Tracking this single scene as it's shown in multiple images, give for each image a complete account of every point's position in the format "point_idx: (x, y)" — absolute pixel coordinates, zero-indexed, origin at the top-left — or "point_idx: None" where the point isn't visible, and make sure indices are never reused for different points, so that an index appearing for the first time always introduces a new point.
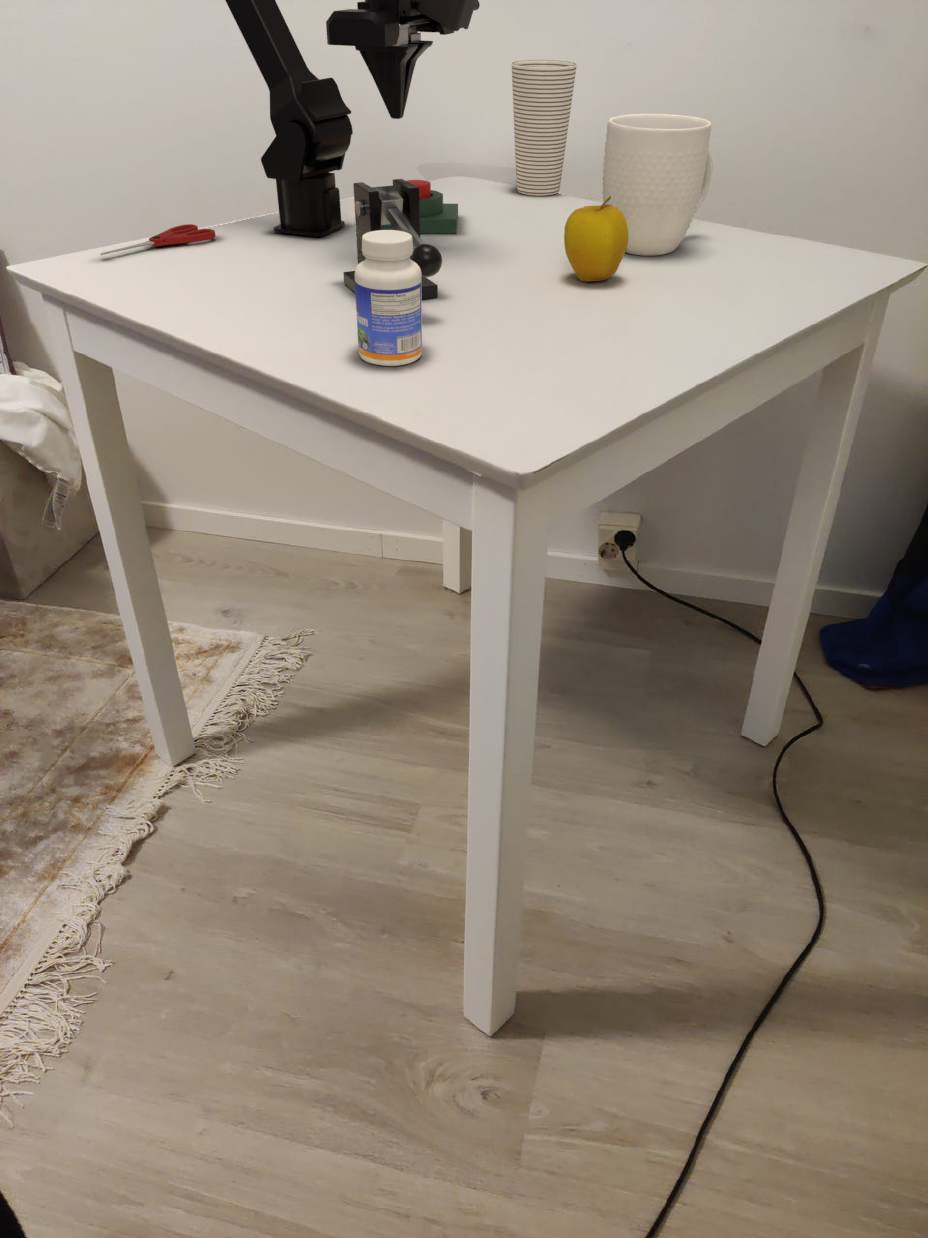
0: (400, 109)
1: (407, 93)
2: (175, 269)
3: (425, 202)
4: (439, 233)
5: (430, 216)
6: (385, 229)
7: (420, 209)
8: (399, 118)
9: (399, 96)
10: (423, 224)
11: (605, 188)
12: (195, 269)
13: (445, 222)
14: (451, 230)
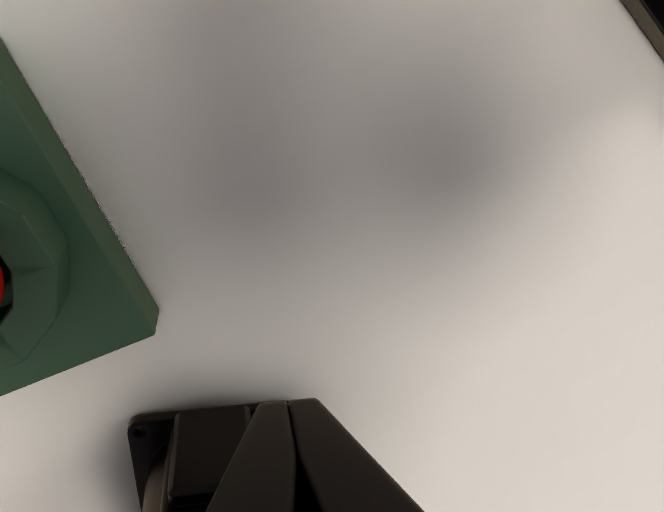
0: (338, 423)
1: (229, 504)
2: (642, 498)
3: (6, 197)
4: (36, 100)
5: (11, 161)
6: (139, 279)
7: (35, 203)
8: (309, 398)
9: (394, 485)
10: (63, 166)
11: None
12: (635, 469)
13: (12, 84)
14: (7, 55)
